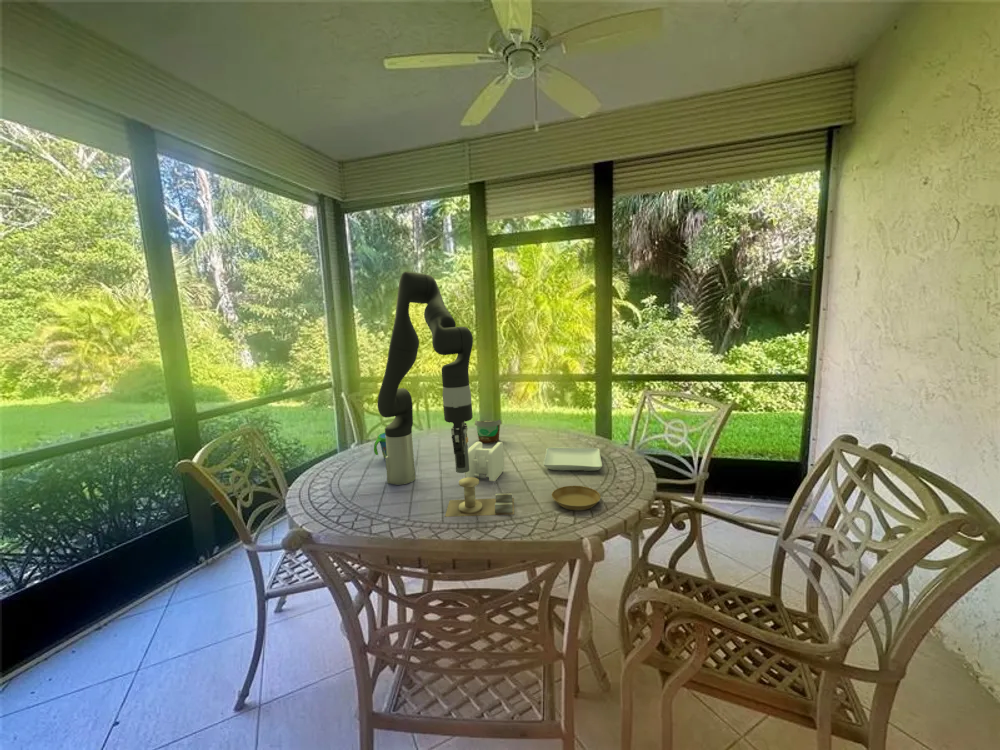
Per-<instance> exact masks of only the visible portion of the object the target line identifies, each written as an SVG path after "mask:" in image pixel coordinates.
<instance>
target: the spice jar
mask: <svg viewBox="0 0 1000 750" xmlns="http://www.w3.org/2000/svg"><path fill="white" fill-rule="evenodd" d="M463 441H464V439H463ZM468 442H469V437H468V436H467V437H466V445H465V465H466V466H465V468H458V467H457V460H456V455H455V454H454V460H455V461H454V462H455V464H454V465H455V472H456V473H458V474H465V472H468V471H469V458H468V449H469V446H468V445H469V444H468ZM458 449H461V448H460V447H458V448H457V450H458Z"/></svg>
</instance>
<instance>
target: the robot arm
mask: <svg viewBox="0 0 1000 750" xmlns="http://www.w3.org/2000/svg"><path fill="white" fill-rule="evenodd" d="M396 297H397V298H396V306H395V307H396V308H395V314H394V315H395V316H394V321H393V327H392V332H391V336H390V342H389V348H388V353H387V360H386V367H385V371H384V375H383V379H382V382H381V384H380V385H381V386H380V389H379V391H378V392H379V393H378V397H377V411H378V413H379V415H380V416H381V417H383V418H393V420H392V421H391V422H390V423H389V424H387V425H386V427H385V428H384V433H385V437H386V448H387V457H386V460H385V468H386V470H385V471H386V479H387V484H392V485H398V486H399V485H406V484H410V483H412V482H413V481H415V480H416V469H415V458H414V456H415V455H414V444H413V442H414V441H413V431H412V429H413V426H414V425H413V424H414V421H413V420H414V418H413V417H414V416H413V415H414V414H413V411H414V409H413V407H414V406H413V399H412V395H411V393H410V392H409V390H408V389H407V388H404V387H403V388H401V387H400V388H399V386H400V384H401V382H402V381H403V379H404V378H405V377H406V375H407V374H408V372H410V370H411V369H412V368H413V366H414V364H415V362H416V360H417V356H418V351H419V346H420V340H419V337H418V334H417V332H416V329H415V327H414V325H413V323H412V320H411V317H410V303H413V304H420V305H423V304H424V305H425V304H427V305H426V306H425V309H424V313H423V316H424V318H423V319H424V321H425V324H426V325H427V326H428V328H429V330H430V331H431V340H432V341H431V342H432V347H433V351H434V352H435V353H436V354H438V355H441V356H449V355H457V356H456V358H455V360H454V361H452V362H448V363H446V364H444V365H443V366H442V367H441V380H442V381H441V383H442V407H443V416H444V421H445V422H446V423H451V424H453V425H452V427H451V428H450V429H451V431H450V433H451V441H452V447H453V454H454V456H455V455H456V460H457V467H458V468H465V466H466V465H465V445H466V437H468V424H467V422H469V421H471V420H472V419H473V416H474V415H473V404H472V403H473V402H472V392H471V391H472V390H471V387H470V378H469V377H470V375H469V368H470V367H469V366H470V360H471V354H472V349H473V346H474V345H473V344H474V336H473V333H472V332H471V330H470V329H469V328H468V327H466V326H457V325H456V321H455V319H454V318H453V316H452V315H451V313H450V312H449V309H448V308H447V307H446V305H445V302H444V300H443V296H442V294H441V290H440V288H439V286H438V283H437V281H436V279H435V277H433V276H432V275H430V274H426V273H420V272H413V271H404V272H403V273H402V274H401V275H400V277H399V281H398V287H397V295H396ZM463 439H464V441H463ZM458 447H460V448H461V449H458V450H457V448H458Z"/></svg>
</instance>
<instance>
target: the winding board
mask: <svg viewBox="0 0 1000 750" xmlns="http://www.w3.org/2000/svg"><path fill="white" fill-rule="evenodd" d="M475 501H479V502H481V503H482V509H481V510H480V511H478V512H476V513H462V512H460V511H459V504H461V503H462V502H465V499H449V502H448V505H447V509H446V511H445V514H444V517H445V518H447V517H449V518H451V517H454V518H455V517H475V516H476V517H479V516H481V517H482V516H503V515H504V516H508V515H510V516H511V515H515V498H514V497H513V493H512V492H511V493H509V492H508V493H495V498H475Z"/></svg>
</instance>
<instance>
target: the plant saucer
mask: <svg viewBox="0 0 1000 750" xmlns="http://www.w3.org/2000/svg"><path fill="white" fill-rule="evenodd" d="M551 498H552V499H553V500H554V502H555V503H556V504H558V505H559V506H560V507H562V508H564V509H566V510H569V511H585V510H589V509H591V508H593V507H595V505H597V504H598V503H599V502H600V500H601V494H600V493H599V492H598V491H597V490H596V489H594V488H592V487H588V486H583V485H566V486H561V487H557V488H556V489H554V490H553V491H552V492H551Z"/></svg>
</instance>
